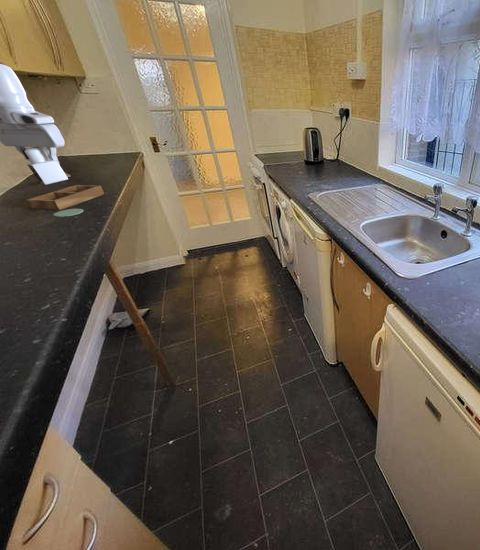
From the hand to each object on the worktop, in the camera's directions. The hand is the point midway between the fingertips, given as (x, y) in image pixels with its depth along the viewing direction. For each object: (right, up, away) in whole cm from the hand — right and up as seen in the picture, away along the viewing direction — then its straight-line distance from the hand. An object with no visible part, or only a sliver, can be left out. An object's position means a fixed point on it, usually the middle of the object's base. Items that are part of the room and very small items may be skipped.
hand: (42, 159), depth 108 cm
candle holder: (-51, +12, +55) cm, 76 cm away
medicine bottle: (0, -7, +4) cm, 8 cm away
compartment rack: (-11, -10, +21) cm, 26 cm away
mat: (+1, -18, +9) cm, 20 cm away
